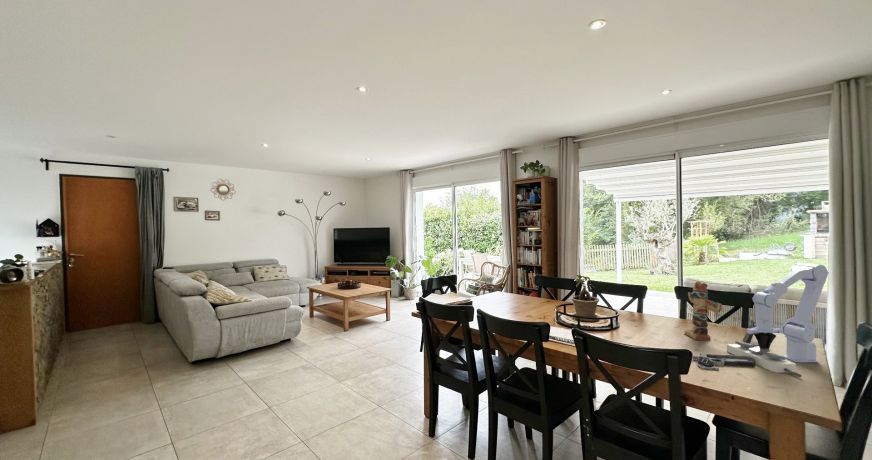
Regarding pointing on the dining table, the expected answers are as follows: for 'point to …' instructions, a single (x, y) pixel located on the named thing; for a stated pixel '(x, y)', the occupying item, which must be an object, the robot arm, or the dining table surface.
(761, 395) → the dining table surface
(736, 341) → the rocker
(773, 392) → the dining table surface
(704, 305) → the totem pole
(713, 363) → the firearm
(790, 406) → the dining table surface
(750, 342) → the dark grey a-frame stand
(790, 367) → the power strip
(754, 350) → the rocker
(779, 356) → the rocker
